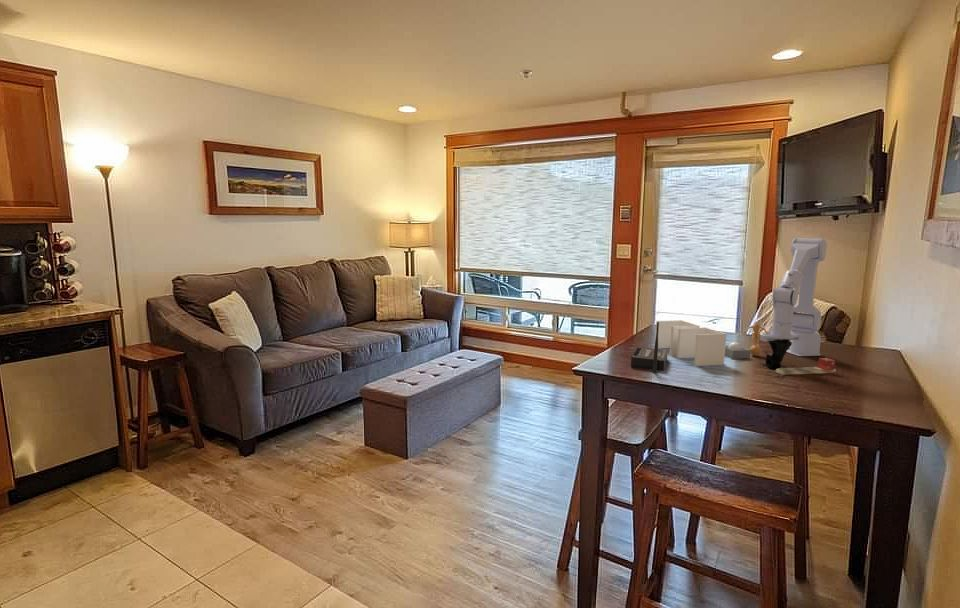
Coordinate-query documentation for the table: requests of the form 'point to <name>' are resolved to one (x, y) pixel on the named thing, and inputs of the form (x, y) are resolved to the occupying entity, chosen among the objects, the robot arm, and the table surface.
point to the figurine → (754, 349)
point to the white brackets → (692, 342)
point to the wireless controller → (650, 357)
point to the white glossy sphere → (735, 346)
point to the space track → (811, 368)
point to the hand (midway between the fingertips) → (777, 360)
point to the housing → (737, 353)
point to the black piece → (772, 361)
